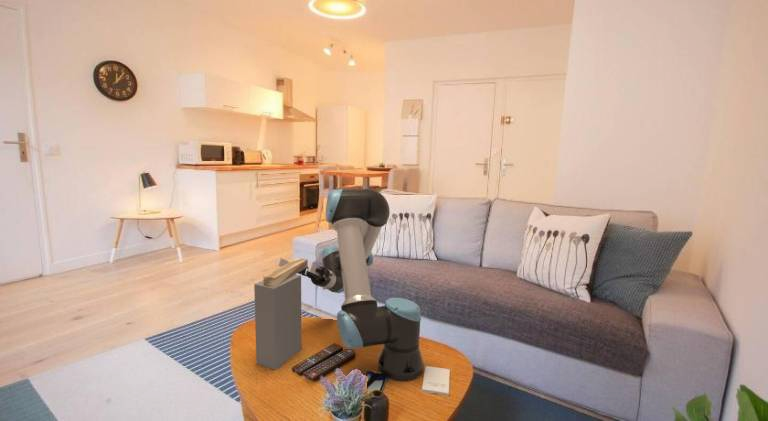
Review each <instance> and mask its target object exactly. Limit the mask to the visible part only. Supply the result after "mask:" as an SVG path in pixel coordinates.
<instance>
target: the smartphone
mask: <svg viewBox="0 0 768 421" xmlns="http://www.w3.org/2000/svg"><path fill="white" fill-rule="evenodd" d="M365 375H366V376H367V377H368V381H367V390H368V391H372V390H380V391H381V392H382V393H383V391H384V389H385V386H386V384H387V382H388V379H389V378H388V377H387V376H385V375H384V374H382V373H380V371H373V370H367V371H366V372H365V374H364V376H365Z"/></svg>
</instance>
